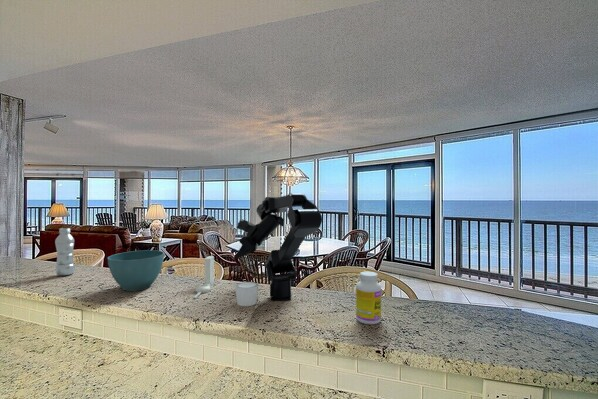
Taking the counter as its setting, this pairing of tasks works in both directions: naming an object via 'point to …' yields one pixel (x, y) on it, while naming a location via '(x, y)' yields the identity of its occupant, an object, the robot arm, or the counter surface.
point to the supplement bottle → (368, 299)
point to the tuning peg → (207, 277)
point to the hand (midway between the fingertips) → (235, 257)
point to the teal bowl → (136, 268)
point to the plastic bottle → (64, 252)
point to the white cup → (247, 293)
